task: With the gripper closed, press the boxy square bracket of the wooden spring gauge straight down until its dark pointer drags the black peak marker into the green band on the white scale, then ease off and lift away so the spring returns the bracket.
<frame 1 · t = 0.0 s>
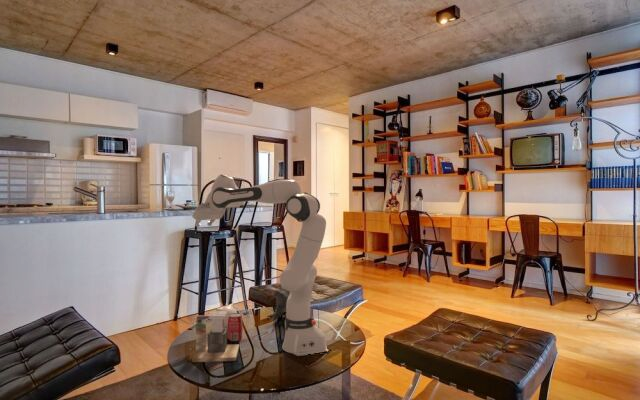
hand: (203, 225, 191), 54 cm above the table, tool tilted 30°, fingers open, 8 cm apart
peak marker: (199, 321, 159), point 15 cm above the table, slide at 0.0 cm
boxy square bracket: (212, 324, 162), point 13 cm above the table, slide at 0.0 cm
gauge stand: (216, 354, 161), on the table
soda can: (234, 339, 178), on the table
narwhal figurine: (280, 318, 212), on the table
cat head: (226, 329, 192), on the table
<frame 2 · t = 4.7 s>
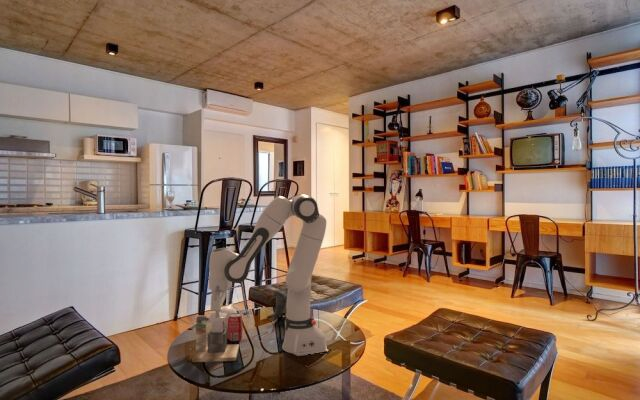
hand: (218, 315, 163), 17 cm above the table, tool pointing down, fingers closed, pressing on boxy square bracket
peak marker: (199, 321, 159), point 15 cm above the table, slide at 0.0 cm, touching boxy square bracket
boxy square bracket: (212, 325, 162), point 12 cm above the table, slide at 0.8 cm, touching gripper, peak marker
everything else where it was.
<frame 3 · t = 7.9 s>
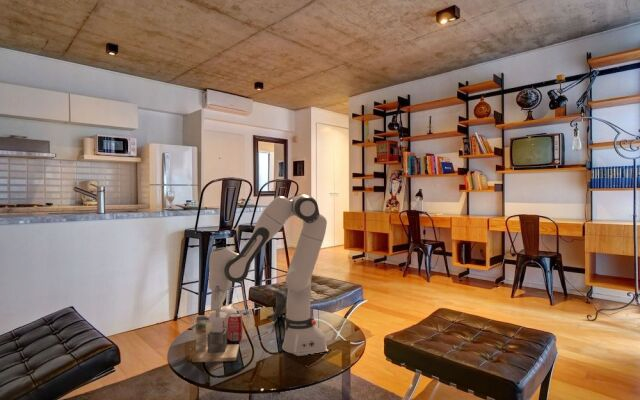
hand: (218, 314, 163), 17 cm above the table, tool pointing down, fingers closed, pressing on boxy square bracket
peak marker: (199, 327, 159), point 12 cm above the table, slide at 2.6 cm
boxy square bracket: (212, 325, 162), point 12 cm above the table, slide at 0.6 cm, touching gripper
everything else where it was.
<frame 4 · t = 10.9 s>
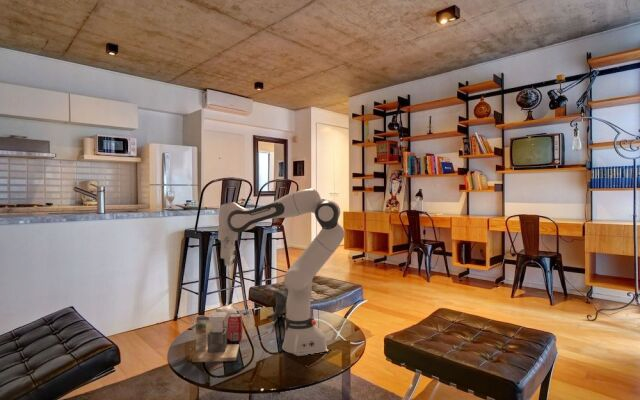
hand: (227, 265, 174), 37 cm above the table, tool pointing down, fingers closed
boxy square bracket: (212, 325, 162), point 12 cm above the table, slide at 0.5 cm
everything else where it was.
at the end: peak marker slide at 2.6 cm; boxy square bracket slide at 0.5 cm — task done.
